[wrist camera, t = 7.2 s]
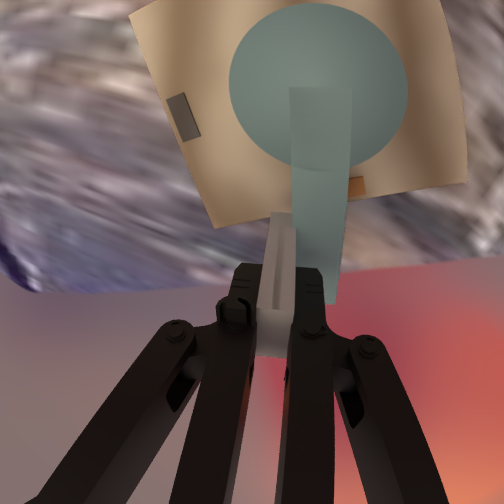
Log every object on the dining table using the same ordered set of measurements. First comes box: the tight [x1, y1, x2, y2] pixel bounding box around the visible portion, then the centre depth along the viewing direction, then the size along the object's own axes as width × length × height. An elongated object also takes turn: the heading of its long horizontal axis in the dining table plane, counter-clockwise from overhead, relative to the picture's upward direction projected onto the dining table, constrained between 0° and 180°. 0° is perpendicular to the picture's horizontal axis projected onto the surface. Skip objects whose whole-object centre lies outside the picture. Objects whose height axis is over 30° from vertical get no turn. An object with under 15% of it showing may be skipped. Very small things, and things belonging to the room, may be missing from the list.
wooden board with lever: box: [129, 0, 468, 229], centre depth 14 cm, size 18×16×4 cm
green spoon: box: [229, 3, 408, 304], centre depth 14 cm, size 14×7×3 cm, turn 4°
